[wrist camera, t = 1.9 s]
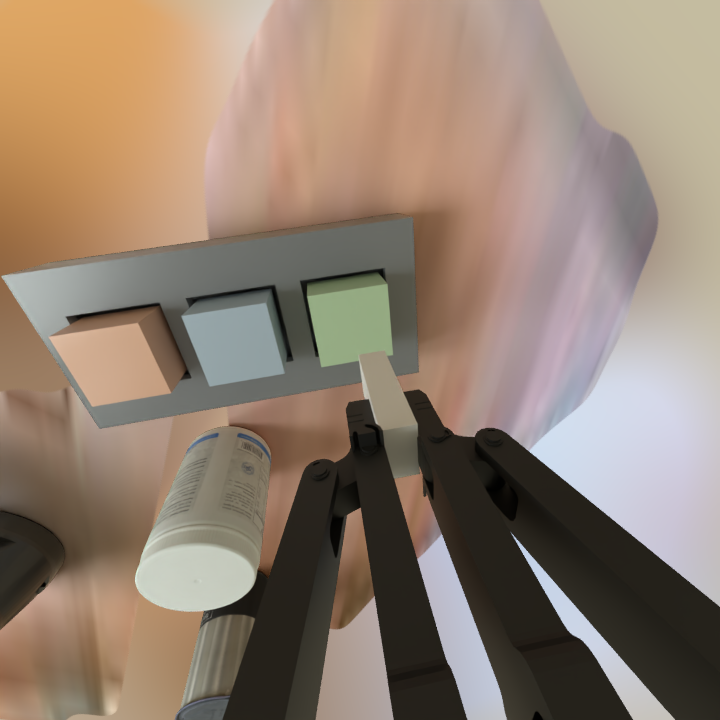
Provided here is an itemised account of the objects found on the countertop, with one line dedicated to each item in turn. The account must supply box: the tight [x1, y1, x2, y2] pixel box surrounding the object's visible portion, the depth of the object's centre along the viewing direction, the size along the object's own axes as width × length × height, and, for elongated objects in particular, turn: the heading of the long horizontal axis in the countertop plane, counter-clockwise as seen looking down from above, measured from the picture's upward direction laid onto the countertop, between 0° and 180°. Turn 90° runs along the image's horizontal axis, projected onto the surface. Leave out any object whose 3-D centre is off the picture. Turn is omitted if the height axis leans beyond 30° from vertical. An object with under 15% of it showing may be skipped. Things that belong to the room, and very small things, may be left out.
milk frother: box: [175, 571, 268, 720], centre depth 47 cm, size 14×16×15 cm
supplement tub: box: [135, 426, 271, 612], centre depth 33 cm, size 10×10×15 cm
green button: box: [307, 272, 393, 367], centre depth 27 cm, size 6×6×4 cm
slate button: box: [181, 289, 287, 386], centre depth 26 cm, size 6×6×4 cm
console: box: [2, 213, 419, 429], centre depth 30 cm, size 30×14×5 cm, turn 97°
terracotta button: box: [49, 306, 187, 407], centre depth 26 cm, size 6×6×4 cm
